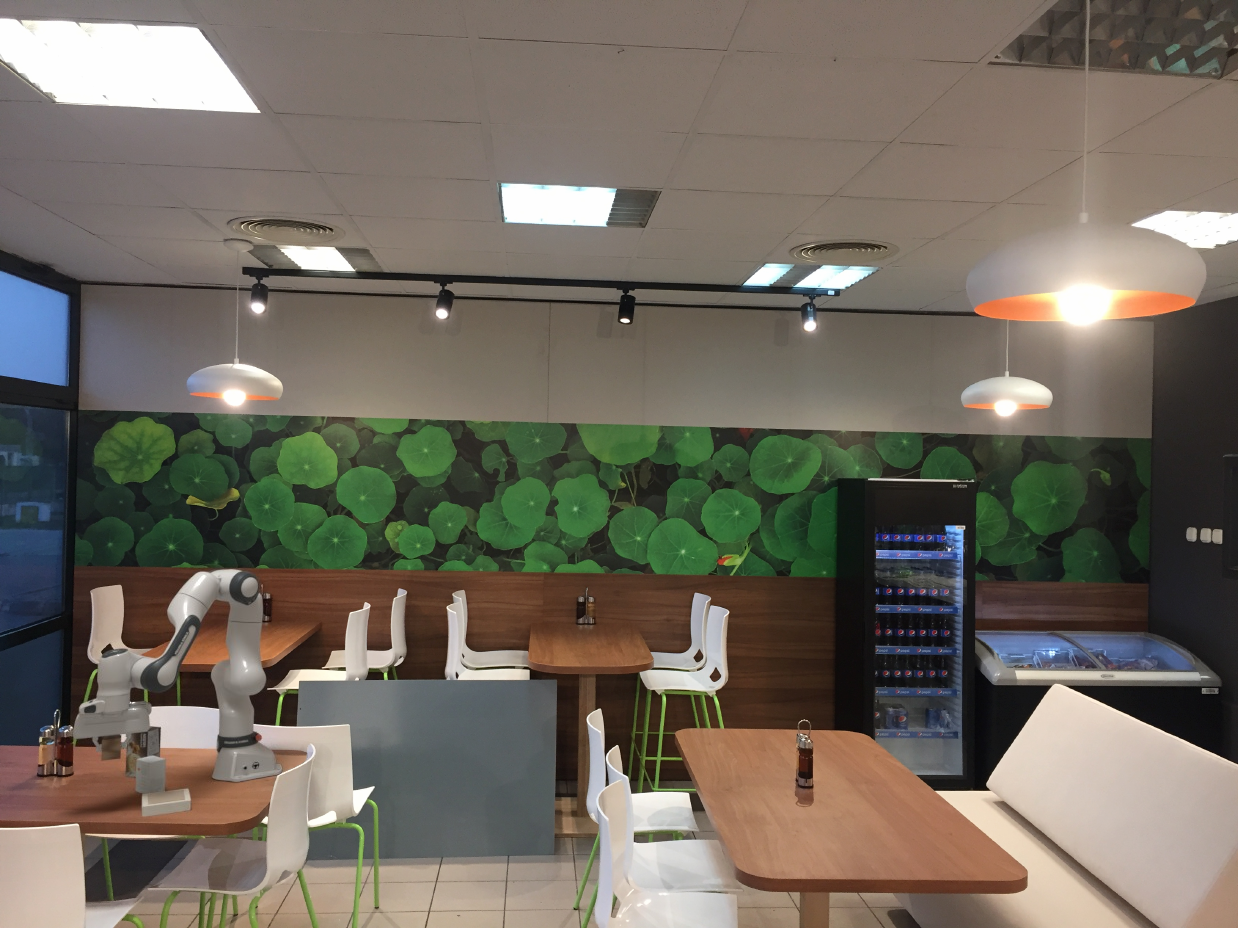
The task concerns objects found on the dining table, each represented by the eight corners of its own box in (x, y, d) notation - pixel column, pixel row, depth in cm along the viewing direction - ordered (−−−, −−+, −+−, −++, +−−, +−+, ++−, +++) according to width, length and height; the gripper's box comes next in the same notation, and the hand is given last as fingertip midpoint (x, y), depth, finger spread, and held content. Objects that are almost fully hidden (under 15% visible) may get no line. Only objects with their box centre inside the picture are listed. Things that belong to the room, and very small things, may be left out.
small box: (165, 791, 283) (166, 758, 284) (147, 796, 279) (149, 762, 279) (152, 786, 288) (153, 754, 288) (134, 791, 283) (136, 758, 284)
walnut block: (120, 754, 267) (121, 734, 268) (120, 758, 263) (121, 738, 263) (101, 756, 265) (102, 736, 265) (101, 760, 260) (102, 740, 261)
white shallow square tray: (188, 797, 277) (188, 787, 278) (190, 810, 266) (190, 799, 266) (141, 803, 271) (142, 793, 271) (141, 816, 260) (142, 805, 260)
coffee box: (160, 773, 302) (162, 726, 303) (146, 778, 296) (148, 730, 297) (138, 771, 305) (140, 724, 306) (124, 776, 298) (126, 729, 299)
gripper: (151, 698, 272) (150, 742, 272) (74, 704, 263) (73, 751, 262) (152, 702, 267) (150, 747, 266) (73, 709, 257) (71, 756, 256)
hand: (111, 749), depth 264 cm, fingers closed on walnut block, 5 cm apart
